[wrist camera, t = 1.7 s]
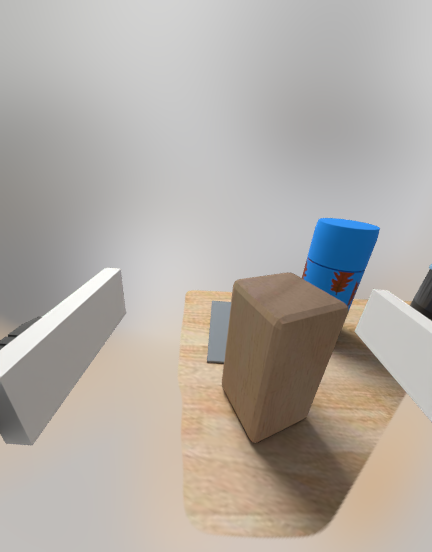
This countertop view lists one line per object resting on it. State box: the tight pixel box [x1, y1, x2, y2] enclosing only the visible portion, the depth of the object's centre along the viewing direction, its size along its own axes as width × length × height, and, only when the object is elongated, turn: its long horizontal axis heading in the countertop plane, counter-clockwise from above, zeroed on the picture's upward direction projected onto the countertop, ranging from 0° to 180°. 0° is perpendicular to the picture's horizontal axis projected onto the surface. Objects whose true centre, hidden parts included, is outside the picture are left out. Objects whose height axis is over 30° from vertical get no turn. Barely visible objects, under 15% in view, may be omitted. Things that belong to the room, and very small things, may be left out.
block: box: [222, 273, 348, 443], centre depth 30 cm, size 10×10×20 cm
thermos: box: [302, 218, 380, 311], centre depth 47 cm, size 11×11×25 cm
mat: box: [207, 301, 231, 363], centre depth 50 cm, size 18×21×1 cm
